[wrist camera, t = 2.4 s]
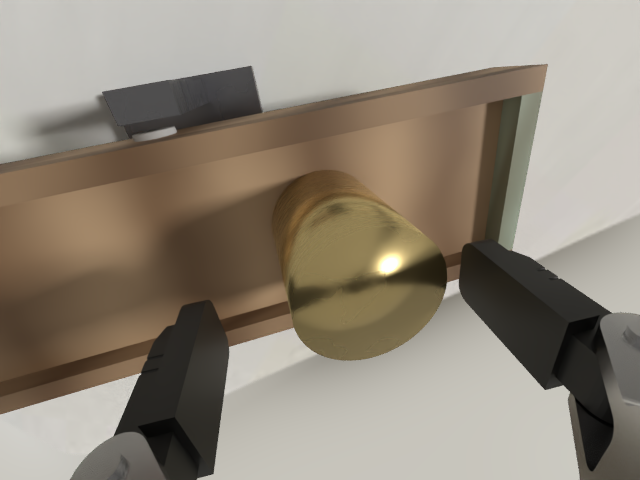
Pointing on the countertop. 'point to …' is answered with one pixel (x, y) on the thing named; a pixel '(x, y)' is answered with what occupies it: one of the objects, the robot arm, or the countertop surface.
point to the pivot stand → (185, 101)
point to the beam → (235, 217)
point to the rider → (353, 267)
